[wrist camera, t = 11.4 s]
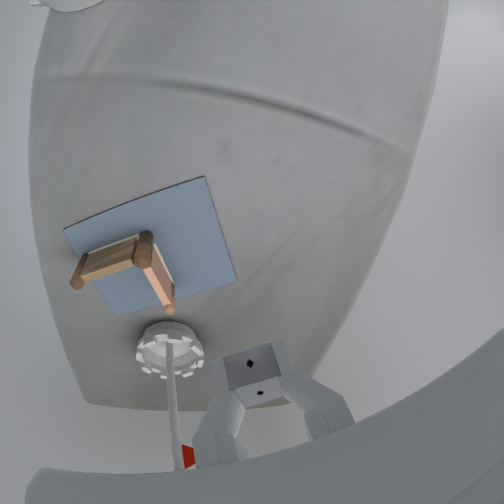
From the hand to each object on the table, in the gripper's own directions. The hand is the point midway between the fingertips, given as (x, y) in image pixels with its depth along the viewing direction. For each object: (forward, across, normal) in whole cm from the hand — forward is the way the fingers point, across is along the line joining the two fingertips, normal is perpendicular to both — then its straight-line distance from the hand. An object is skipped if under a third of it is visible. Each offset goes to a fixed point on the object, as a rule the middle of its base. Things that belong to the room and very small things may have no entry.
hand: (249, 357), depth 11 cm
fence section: (+30, +11, +14) cm, 35 cm away
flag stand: (+31, +17, +31) cm, 47 cm away
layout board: (+31, +12, +11) cm, 35 cm away
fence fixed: (+31, +16, +8) cm, 36 cm away
